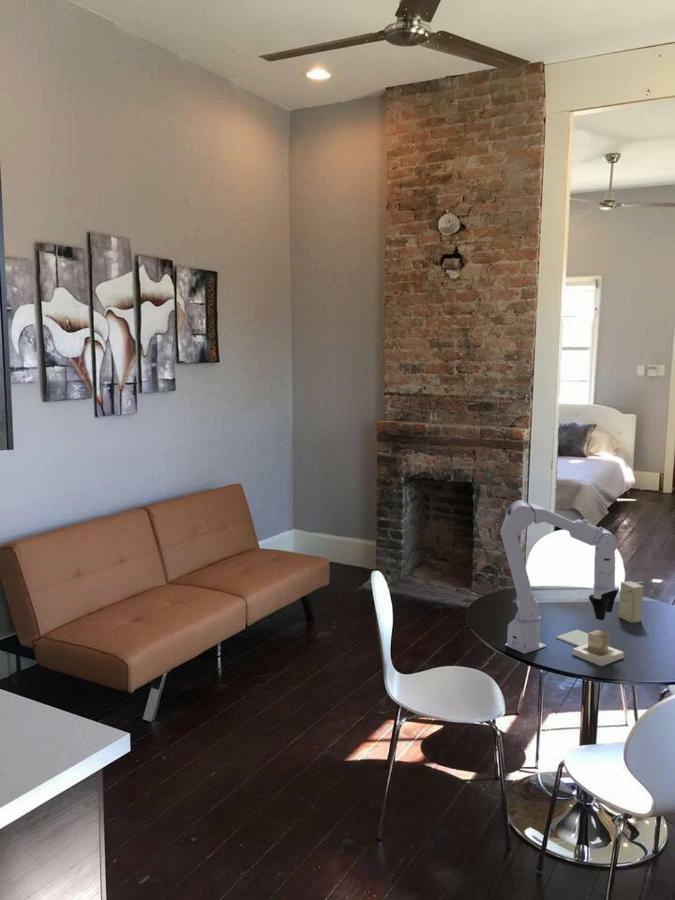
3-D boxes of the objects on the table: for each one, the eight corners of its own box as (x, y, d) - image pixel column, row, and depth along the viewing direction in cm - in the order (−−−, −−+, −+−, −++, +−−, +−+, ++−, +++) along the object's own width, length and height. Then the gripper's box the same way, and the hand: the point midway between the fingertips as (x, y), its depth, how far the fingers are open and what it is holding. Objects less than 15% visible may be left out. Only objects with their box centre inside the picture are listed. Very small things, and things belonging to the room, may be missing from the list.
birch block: (599, 660, 213) (600, 637, 212) (587, 655, 216) (588, 632, 215) (607, 657, 215) (608, 634, 214) (596, 652, 218) (597, 629, 217)
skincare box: (618, 617, 247) (619, 581, 245) (629, 615, 248) (630, 580, 247) (631, 623, 241) (633, 587, 240) (642, 621, 243) (644, 586, 241)
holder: (601, 666, 209) (601, 660, 208) (572, 654, 217) (572, 648, 217) (623, 657, 214) (623, 652, 214) (594, 646, 222) (594, 641, 222)
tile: (582, 648, 221) (583, 646, 221) (556, 638, 229) (556, 636, 229) (604, 641, 226) (604, 639, 226) (577, 631, 235) (577, 629, 235)
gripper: (611, 579, 209) (610, 625, 211) (625, 566, 221) (624, 610, 223) (586, 575, 213) (585, 621, 215) (601, 563, 225) (600, 606, 227)
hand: (604, 615), depth 219 cm, fingers open, 7 cm apart
